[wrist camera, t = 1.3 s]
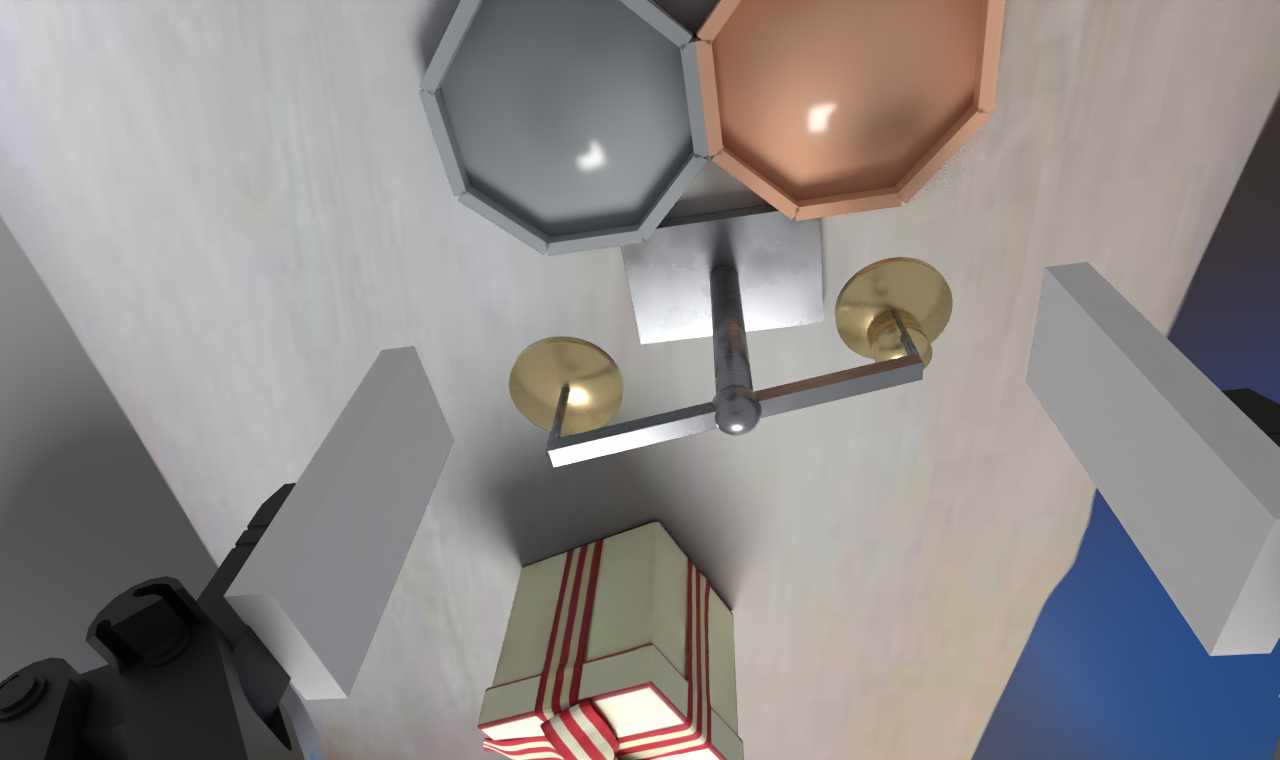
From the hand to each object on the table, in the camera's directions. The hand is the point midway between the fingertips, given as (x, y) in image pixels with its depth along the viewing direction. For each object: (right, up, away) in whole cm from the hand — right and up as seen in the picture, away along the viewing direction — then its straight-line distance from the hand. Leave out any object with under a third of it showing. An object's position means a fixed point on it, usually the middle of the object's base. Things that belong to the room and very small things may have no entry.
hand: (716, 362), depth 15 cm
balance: (+4, +7, +30) cm, 31 cm away
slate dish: (-6, +15, +25) cm, 29 cm away
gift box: (-3, -21, +50) cm, 54 cm away
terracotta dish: (+9, +16, +23) cm, 29 cm away
